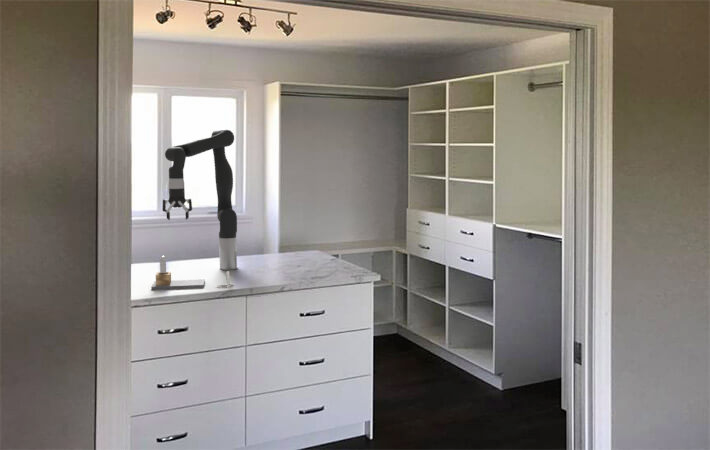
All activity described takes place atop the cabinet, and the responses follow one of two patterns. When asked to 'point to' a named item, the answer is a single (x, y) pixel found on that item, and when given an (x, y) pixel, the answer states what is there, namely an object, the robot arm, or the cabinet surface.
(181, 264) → the cabinet surface
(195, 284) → the lacing board
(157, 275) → the oak bead
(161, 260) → the steel needle
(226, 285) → the stand
